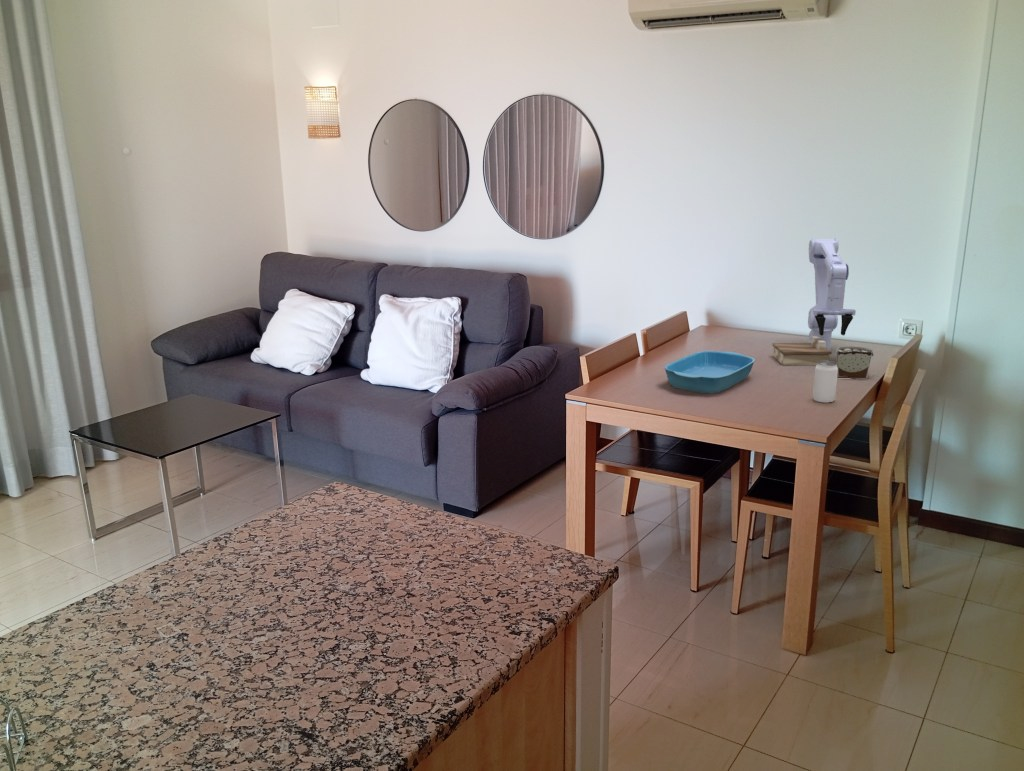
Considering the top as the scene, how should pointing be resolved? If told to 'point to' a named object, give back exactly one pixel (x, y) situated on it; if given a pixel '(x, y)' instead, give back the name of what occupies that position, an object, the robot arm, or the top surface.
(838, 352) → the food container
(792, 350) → the lid
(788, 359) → the beige open tray
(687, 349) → the top surface
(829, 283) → the robot arm
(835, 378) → the can
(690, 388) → the casserole dish
